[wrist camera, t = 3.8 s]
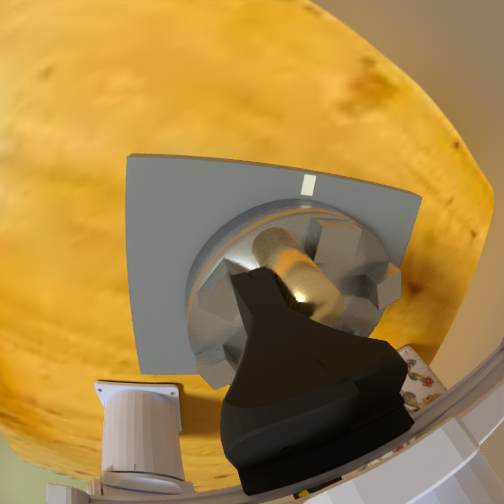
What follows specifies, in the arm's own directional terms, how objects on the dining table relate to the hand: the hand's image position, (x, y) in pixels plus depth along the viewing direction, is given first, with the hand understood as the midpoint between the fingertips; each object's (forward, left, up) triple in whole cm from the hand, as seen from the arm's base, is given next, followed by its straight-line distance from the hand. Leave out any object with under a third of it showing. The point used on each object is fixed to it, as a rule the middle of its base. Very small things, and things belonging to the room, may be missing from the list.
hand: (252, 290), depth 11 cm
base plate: (-4, -4, -7) cm, 9 cm away
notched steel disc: (-4, -4, -5) cm, 8 cm away
